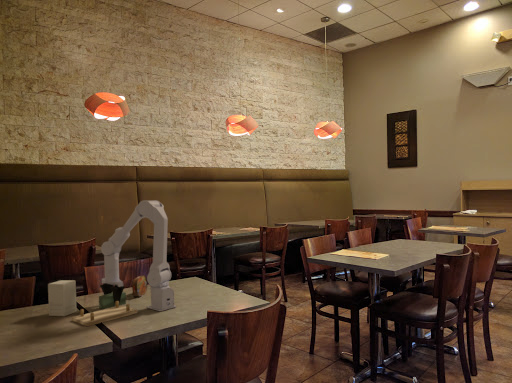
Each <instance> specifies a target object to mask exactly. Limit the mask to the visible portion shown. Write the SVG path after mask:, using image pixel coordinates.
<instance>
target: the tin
mask: <svg viewBox="0 0 512 383" xmlns="http://www.w3.org/2000/svg"><path fill="white" fill-rule="evenodd" d="M131 289H132V295H133V297H134V298H136V297H137V298H139V297H142V296H143V295H144V294H145V293H147V290H148V281H147V276H146V275H139V276H137V277H135V278H134V279H133V280H132V283H131Z"/></svg>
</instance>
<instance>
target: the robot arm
mask: <svg viewBox="0 0 512 383" xmlns="http://www.w3.org/2000/svg"><path fill="white" fill-rule="evenodd" d="M164 207H165V206H164V204H163V203H162V202H160V200H156V199H155V200H154V199H153V200H146V199H145V200H141V201H140V202H138V204H137V205H136V206H135V207H134V211H133V212H132V213H131V215H130V216H129V218H128V219H127V221H126V222H125V223H124V224H123V226H120V227H117V228H116V229H115V230H114V233H113V234H112V236H110V237H109V238H108V240H107V241H104V242H102V244H101V246H100V250H101V253H102V255H103V258H104V259H103V260H104V265H103V266H104V277H103V278H101V284H100V285H99V287H100V289H101V291H102V293H103V295H106V294H111V293H113V299H114V303H115V301H119V303H120V299H121V295H122V292H124V290H125V287H126V286H125V285H124V281H122V280H121V279H120V264H119V263H120V261H119V260H120V259H119V257H120V252H122V246H123V245H124V244H125V242H126V241H127V240H128V239H129V237H130V236H131V233H130V232H131V231H132V230H133V229H134V227H135V226H137V225H138V223H139V222H140V221H141V220H142V219H145V218H146V219H148V220H149V221H151V222H152V223H153V242H152V243H153V244H152V245H153V246H152V247H153V248H152V249H153V250H152V252H153V253H152V263H151V264H150V267H149V272H148V274H147V276H146V279H147V284H149V286H150V302H151V303H150V305H148V306H146V308H147V309H151V310H154V311H157V312H162V311H163V312H164V311H167V310H170V309H173V308H176V307H177V305H175V291H174V289H173V288H172V287H170V281H171V278H172V272H171V270H170V268H171V267H170V264H169V262H168V261H167V257H168V256H167V255H168V254H167V253H168V252H167V251H168V226H169V225H168V224H169V222H168V221H169V218H168V216H167V213H166V211H165V209H164Z"/></svg>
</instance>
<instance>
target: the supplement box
mask: <svg viewBox="0 0 512 383" xmlns="http://www.w3.org/2000/svg"><path fill="white" fill-rule="evenodd" d="M76 285H77V283H76V280H73V279H72V280H70V279H69V280H63V279H62V280H61V279H59V280H57V281H54V282H49V283H47V294H48V295H47V296H48V316H49V317H50V316H52V317H66V316H69V315H71V314H73V313H76V312H77V286H76Z"/></svg>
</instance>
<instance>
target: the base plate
mask: <svg viewBox="0 0 512 383" xmlns="http://www.w3.org/2000/svg"><path fill="white" fill-rule="evenodd" d="M115 305H116V306H115V307H111V308H107V309H101V310H96V311H93V312H92V311H91V312H88V313H85V310H84V308H80V310H79V312H80V313H79V315H76V316H72V317H71V320H72V322H75V323H77V324H80V325H83V326H85V327H90V326H93V325H98V324H101V322H102V323H106V322H108V321H114V320H116V319H120V318H125V317H127V316H131V315H134V314H138V309H135V308H132V307H130V304H129V303H126V304H125V305H119V301H115ZM84 313H85V314H84Z"/></svg>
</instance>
